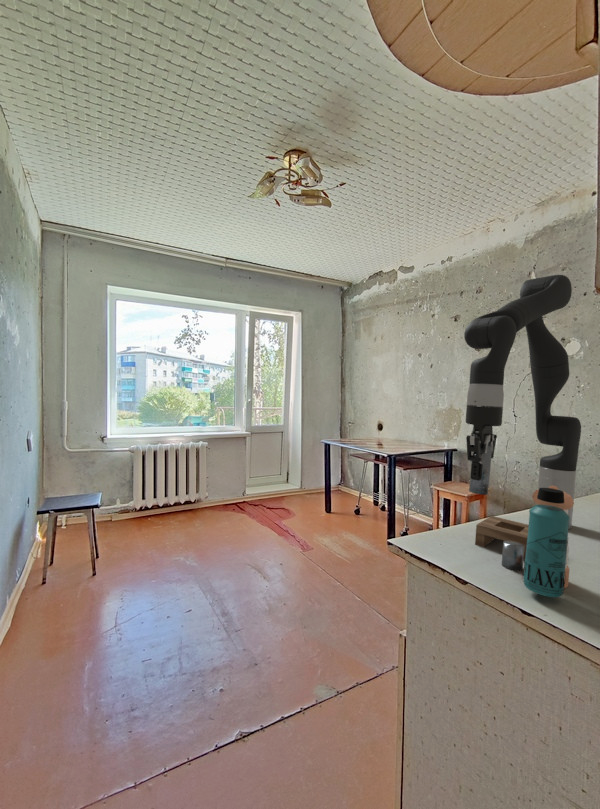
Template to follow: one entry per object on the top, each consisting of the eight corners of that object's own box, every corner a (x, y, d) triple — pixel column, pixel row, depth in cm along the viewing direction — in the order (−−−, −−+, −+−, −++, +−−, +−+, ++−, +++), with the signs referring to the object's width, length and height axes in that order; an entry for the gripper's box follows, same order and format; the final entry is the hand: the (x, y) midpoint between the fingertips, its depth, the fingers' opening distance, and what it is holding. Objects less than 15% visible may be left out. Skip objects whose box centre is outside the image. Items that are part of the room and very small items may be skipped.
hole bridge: (490, 533, 102) (491, 515, 102) (541, 548, 94) (543, 528, 94) (475, 544, 93) (476, 524, 93) (530, 561, 85) (531, 539, 85)
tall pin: (472, 489, 90) (476, 443, 89) (490, 492, 87) (494, 445, 87) (466, 491, 87) (470, 444, 86) (484, 495, 84) (489, 446, 84)
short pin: (504, 561, 84) (506, 539, 84) (524, 567, 82) (526, 544, 82) (499, 566, 81) (500, 543, 81) (520, 573, 79) (521, 549, 79)
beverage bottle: (513, 590, 71) (521, 485, 71) (538, 585, 73) (546, 484, 73) (547, 608, 65) (555, 494, 65) (572, 603, 67) (581, 493, 67)
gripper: (478, 404, 94) (473, 472, 94) (456, 402, 84) (451, 479, 84) (511, 406, 89) (505, 478, 89) (492, 404, 79) (486, 486, 79)
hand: (479, 478), depth 87 cm, fingers closed on tall pin, 4 cm apart
